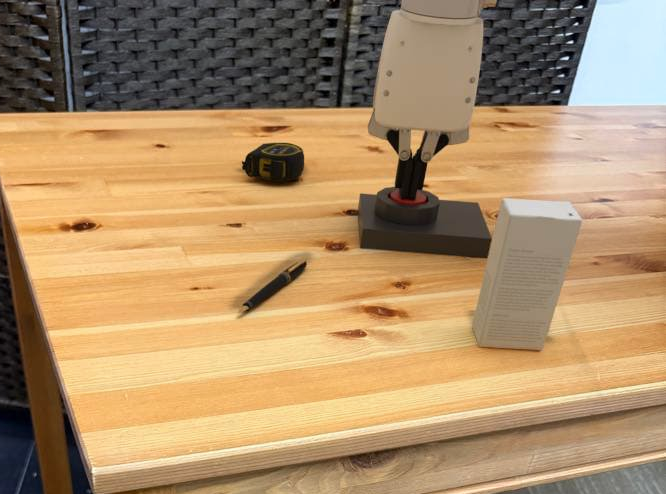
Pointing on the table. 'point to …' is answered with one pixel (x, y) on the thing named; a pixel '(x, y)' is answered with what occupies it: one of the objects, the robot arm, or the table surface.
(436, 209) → the console
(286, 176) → the tape measure
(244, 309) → the fountain pen
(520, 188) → the table surface
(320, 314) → the table surface
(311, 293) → the table surface
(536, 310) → the cosmetic box
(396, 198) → the button
